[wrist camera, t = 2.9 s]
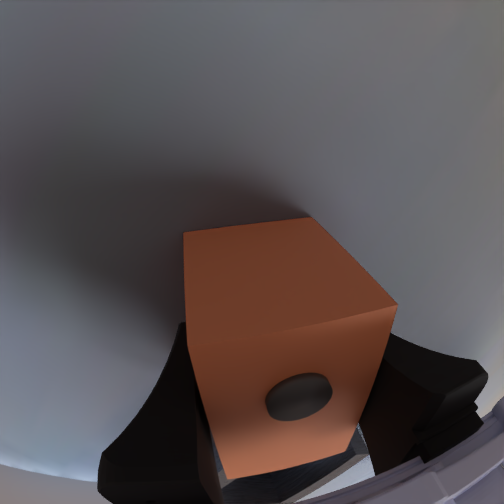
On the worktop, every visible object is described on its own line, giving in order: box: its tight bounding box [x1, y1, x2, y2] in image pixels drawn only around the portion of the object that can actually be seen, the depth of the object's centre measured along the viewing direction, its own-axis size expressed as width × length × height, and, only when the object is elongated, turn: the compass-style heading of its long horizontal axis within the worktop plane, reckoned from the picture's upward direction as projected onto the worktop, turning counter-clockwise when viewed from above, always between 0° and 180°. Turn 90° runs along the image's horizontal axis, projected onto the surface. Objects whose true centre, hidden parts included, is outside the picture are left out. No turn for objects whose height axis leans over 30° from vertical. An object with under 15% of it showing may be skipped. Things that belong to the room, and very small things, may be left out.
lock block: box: [183, 217, 398, 480], centre depth 11 cm, size 8×5×6 cm, turn 3°
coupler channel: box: [209, 425, 369, 504], centre depth 18 cm, size 10×10×4 cm
